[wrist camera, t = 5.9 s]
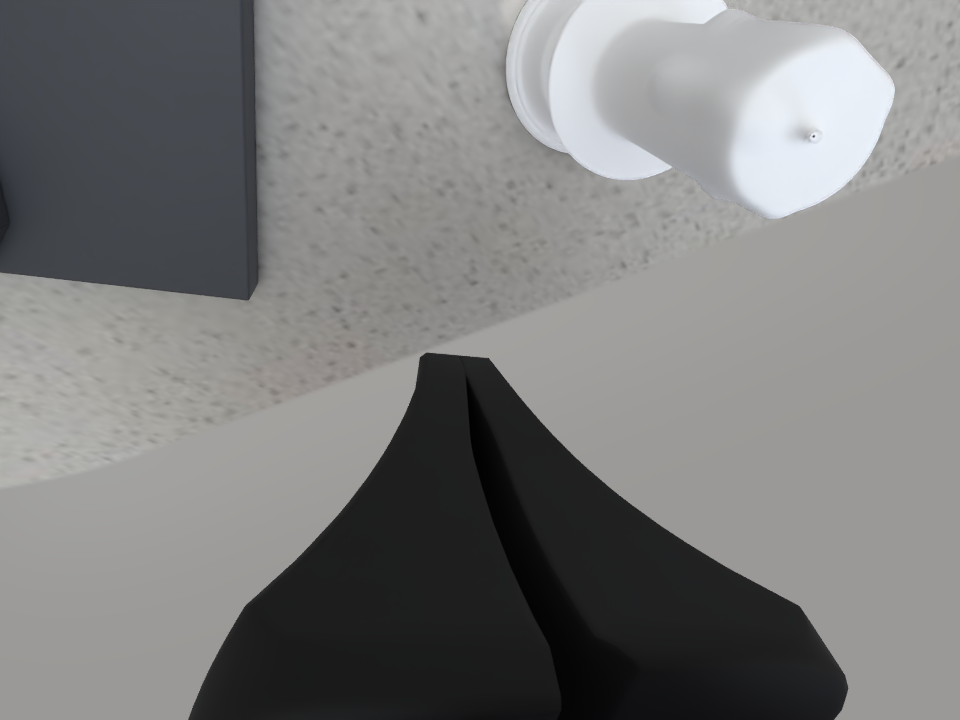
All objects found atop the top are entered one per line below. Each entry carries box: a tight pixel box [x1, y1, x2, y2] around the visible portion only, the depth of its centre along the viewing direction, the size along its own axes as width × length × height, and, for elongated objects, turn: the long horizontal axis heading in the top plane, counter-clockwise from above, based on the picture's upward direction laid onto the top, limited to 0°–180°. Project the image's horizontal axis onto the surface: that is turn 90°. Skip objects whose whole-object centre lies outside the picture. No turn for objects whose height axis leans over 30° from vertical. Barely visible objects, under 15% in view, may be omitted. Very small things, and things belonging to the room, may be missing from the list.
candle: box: [506, 0, 895, 219], centre depth 13 cm, size 5×5×12 cm
